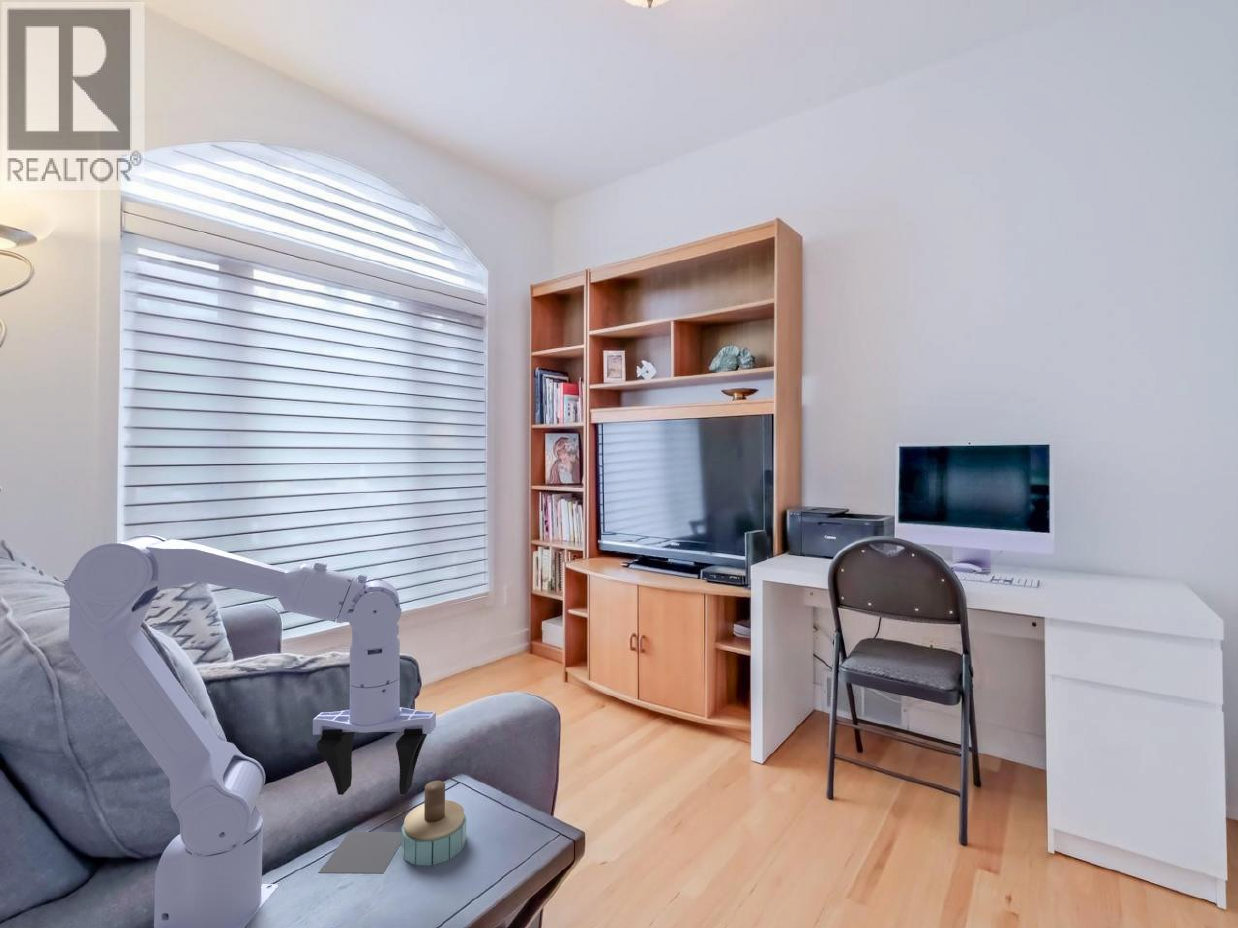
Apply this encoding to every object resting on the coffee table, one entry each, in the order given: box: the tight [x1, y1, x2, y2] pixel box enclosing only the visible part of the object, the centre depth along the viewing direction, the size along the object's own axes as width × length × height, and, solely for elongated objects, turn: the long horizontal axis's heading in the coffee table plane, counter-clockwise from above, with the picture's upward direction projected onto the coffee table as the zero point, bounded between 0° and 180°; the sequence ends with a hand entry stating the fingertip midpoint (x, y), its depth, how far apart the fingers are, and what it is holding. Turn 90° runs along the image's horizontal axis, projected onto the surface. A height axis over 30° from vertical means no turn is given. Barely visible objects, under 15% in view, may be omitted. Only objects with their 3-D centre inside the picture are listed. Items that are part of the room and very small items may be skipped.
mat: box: [318, 831, 402, 874], centre depth 74 cm, size 8×8×1 cm
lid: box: [403, 780, 465, 841], centre depth 75 cm, size 8×8×5 cm
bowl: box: [400, 813, 467, 866], centre depth 75 cm, size 8×8×3 cm
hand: (375, 789), depth 70 cm, fingers open, 7 cm apart
